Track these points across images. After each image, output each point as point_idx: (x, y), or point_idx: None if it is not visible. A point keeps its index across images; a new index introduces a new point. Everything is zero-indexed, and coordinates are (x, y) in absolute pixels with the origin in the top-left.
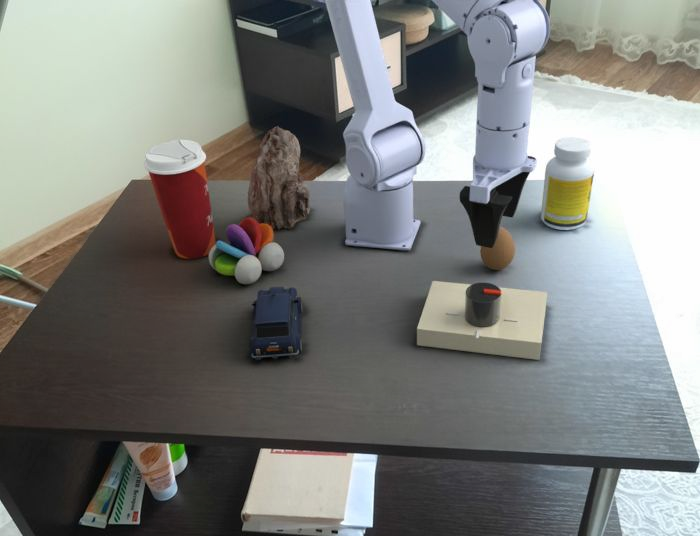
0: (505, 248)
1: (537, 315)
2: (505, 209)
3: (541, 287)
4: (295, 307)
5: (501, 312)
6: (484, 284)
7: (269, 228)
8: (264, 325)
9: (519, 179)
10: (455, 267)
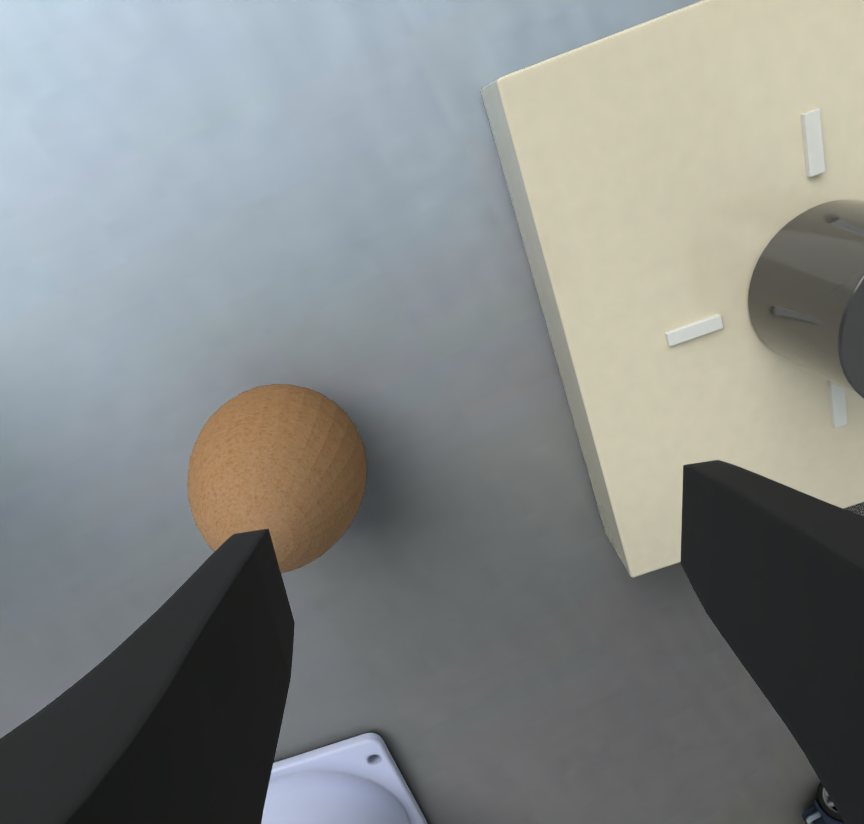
0: (314, 439)
1: (730, 33)
2: (271, 612)
3: (321, 183)
4: None
5: (761, 219)
6: (859, 349)
7: None
8: None
9: (141, 807)
10: (380, 559)
